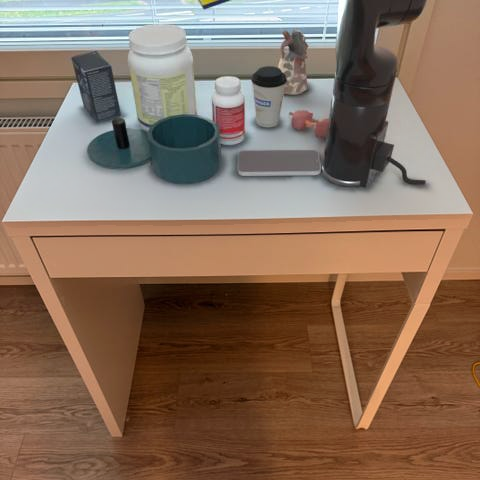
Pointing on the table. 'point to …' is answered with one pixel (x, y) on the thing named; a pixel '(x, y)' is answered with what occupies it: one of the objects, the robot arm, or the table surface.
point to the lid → (120, 146)
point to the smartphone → (278, 162)
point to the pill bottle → (229, 110)
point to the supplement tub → (161, 73)
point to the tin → (185, 148)
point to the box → (96, 86)
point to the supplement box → (211, 3)
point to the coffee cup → (268, 95)
